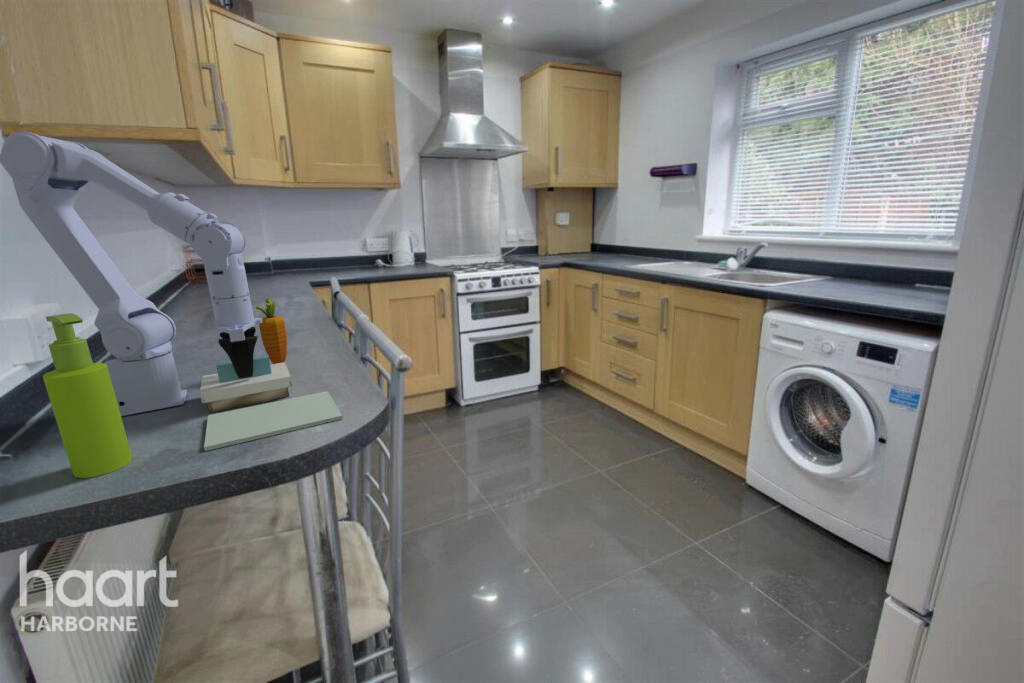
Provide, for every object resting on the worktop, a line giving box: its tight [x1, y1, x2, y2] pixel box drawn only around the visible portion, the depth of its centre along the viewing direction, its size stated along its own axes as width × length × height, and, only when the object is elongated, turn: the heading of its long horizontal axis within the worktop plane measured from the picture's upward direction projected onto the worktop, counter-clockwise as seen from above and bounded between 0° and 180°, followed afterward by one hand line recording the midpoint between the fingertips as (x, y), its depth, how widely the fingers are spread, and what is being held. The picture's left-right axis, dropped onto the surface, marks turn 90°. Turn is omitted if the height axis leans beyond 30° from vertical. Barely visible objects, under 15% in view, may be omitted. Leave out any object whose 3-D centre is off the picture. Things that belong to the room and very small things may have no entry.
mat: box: [203, 390, 343, 452], centre depth 73 cm, size 18×13×1 cm
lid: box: [199, 353, 293, 404], centre depth 83 cm, size 13×10×5 cm
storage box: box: [207, 387, 290, 413], centre depth 83 cm, size 12×9×3 cm
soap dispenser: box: [42, 313, 133, 479], centre depth 58 cm, size 6×7×20 cm
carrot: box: [255, 298, 288, 364], centre depth 96 cm, size 5×5×15 cm
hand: (245, 372), depth 83 cm, fingers open, 5 cm apart
